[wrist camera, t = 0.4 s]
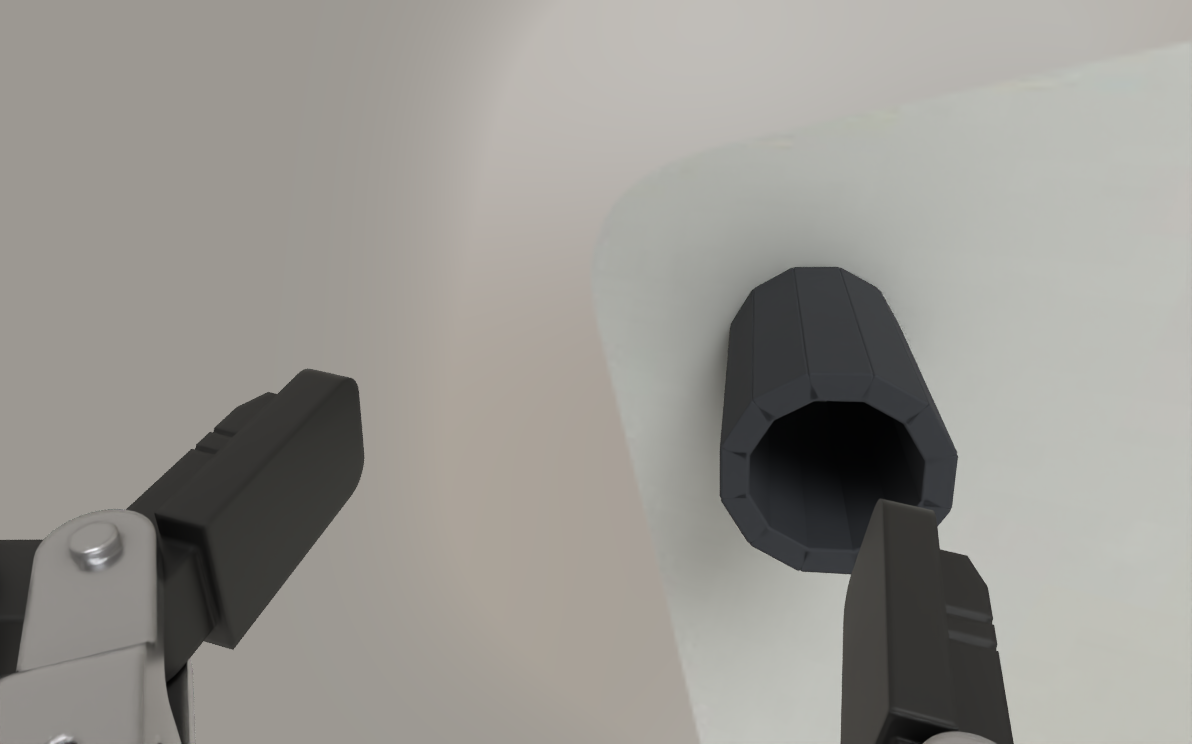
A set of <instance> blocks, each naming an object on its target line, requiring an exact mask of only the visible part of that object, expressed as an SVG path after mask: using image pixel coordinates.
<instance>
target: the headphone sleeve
mask: <svg viewBox="0 0 1192 744" xmlns="http://www.w3.org/2000/svg"><path fill="white" fill-rule="evenodd" d="M820 401H826V402H820ZM957 459H958V456H957V451H956V449H955V447H954V445H953V442H952V440H951V438H950V436H949V434H948V431H947V429H946V427H945V425H944V423H943V420H942V418H941V416H940V414H939V412H938V409H937V407H936V405H935V403H934V401H933V398H932V396H931V394H930V392H929V390H928V387H927V385H926V383H925V381H924V379H923V376H922V374H921V372H920V370H919V368H918V365H917V363H916V361H915V359H914V357H913V354H912V352H911V350H910V348H909V346H908V343H907V341H906V339H905V337H904V335H903V332H902V330H901V328H900V326H899V324H898V322H897V320H896V318H895V317H894V315H893V313H892V311H891V309H890V308H889V306H888V304H887V302H886V300H885V299H884V297H883V295H882V293H881V291H880V290H878V288H876V287H875V286H873V285H871V284H869V283H867V282H866V281H864V280H862V279H860V278H858V277H857V276H855V275H853V274H851V273H849V272H848V271H846V270H844V269H842V268H840V269H839V268H838V267H795V268H794V269H793V268H791V269H789V270H787V271H785V272H784V273H782V274H780V275H778V276H776V277H774V278H773V279H771V280H769V281H767V282H765V283H763V284H761V285H760V286H758V287H756V288H755V289H754V290H752V291H751V293H750V295H749V296H748V298H747V299H746V301H745V303H744V304H743V306H742V307H741V309H740V311H739V312H738V314H737V315H736V317H735V318H734V320H733V322H732V323H731V328H730V338H729V349H728V361H727V372H726V384H725V396H724V407H723V419H722V430H721V442H720V497H721V501H722V503H723V505H724V506H725V508H726V509H727V511H728V512H729V514H730V515H731V517H732V518H733V520H734V522H735V523H736V525H737V526H738V528H739V529H740V531H741V532H742V534H743V535H744V537H745V538H746V540H747V541H748V542H749V543H750V544H751V546H753V547H755V548H757V549H759V550H760V551H762V552H764V553H766V554H768V555H770V556H772V557H773V558H775V559H777V560H779V561H781V562H783V563H784V564H786V565H788V566H790V567H792V568H794V569H796V570H798V571H799V570H801V571H803V572H820V573H838V574H852V571H853V568H854V565H855V562H856V559H857V556H858V554H859V551H860V548H861V545H862V542H863V539H864V536H865V533H866V530H867V527H868V525H869V522H870V519H871V516H872V513H873V510H874V507H875V505H876V503H877V501H878V500H879V499H885V500H889V501H894V502H898V503H902V504H907V505H911V506H916V507H920V508H925V509H929V510H933V511H934V512H935V515H936V520H937V526H938V525H939V524H940V523H941V522H942V520H943V519H944V518H945V517H946V516H947V514H948V513H949V512H950V510H951V508H952V502H953V493H954V485H955V476H956V468H957Z"/></svg>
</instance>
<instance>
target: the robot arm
mask: <svg viewBox="0 0 1192 744" xmlns="http://www.w3.org/2000/svg"><path fill="white" fill-rule="evenodd" d="M363 465H364V447H363V435H362V424H361V413H360V401H359V391H358V386H357V383H356V381H355V380H354V379H352V378H349V377H344V376H340V375H335V374H331V373H326V372H322V371H317V370H313V369H305V370H303V371H301V372H300V373H299V374H297V375H296V376H295V377H294V378H293V379H292V380H291V381H290V382H289V383H288V384H287V385H286V386H285V387H284V388H283V389H282V390H281V391H280V392H279V393H278V394H274V393H270V392H267V393H265V394H263V395H261V396H259V397H257V398H255V399H253V400H251V401H249V402H247V403H245V404H242V405H240V406H238V407H237V408H235V409H234V410H233V411H232V412H231V413H230V414H229V415H228V416H227V417H226V418H225V419H223V420H222V421H221V422H220V423H219V424H218V425H217V426H216V427H215V428H214V432H213V433H212V432H209V433H208V434H207V435H206V436H205V437H204V438H203V439H202V440H201V441H200V442H199V443H198V444H196V448H195V450H194V449H191V450H190V451H189V452H188V453H187V454H186V455H184V456H183V458H181V459H180V460H179V461H178V462H177V463H176V464H175V465H174V466H173V467H172V468H171V469H169V470H168V471H167V472H166V473H165V474H164V475H163V476H162V477H161V478H160V479H159V480H158V481H156V482H155V483H154V484H153V485H152V486H151V487H150V488H149V489H148V490H147V491H146V492H144V494H142V496H140V497H139V498H138V499H137V500H136V501H135V502H134V503H133V504H131V505H130V506H129V507H128V508H127V509H126V510H122V509H108V510H101V511H96V512H92V513H88V514H85V515H82V516H79V517H77V518H74V519H72V520H70V521H68V522H66V523H64V524H62V525H61V526H59V527H58V528H56V529H55V530H54V531H52V532H51V533H50V534H49V535H48V536H47V537H46V538H45V539H44V540H0V744H196V743H195V716H194V715H195V714H194V688H193V668H192V663H191V660H190V657H191V656H192V655H193V653H194V652H195V651H196V650H197V649H198V647H199V646H200V645H201V644H202V642H203V641H205V642H209V643H212V644H215V645H219V646H222V647H226V648H229V649H234V648H235V647H236V645H237V644H238V643H239V641H240V640H241V639H242V637H243V636H244V635H245V634H246V632H247V631H248V629H249V628H250V627H251V625H252V624H253V623H254V622H255V621H256V619H257V618H258V616H259V615H260V614H261V613H262V611H263V610H264V609H265V607H266V606H267V605H268V604H269V602H270V601H271V600H272V598H273V597H274V596H275V594H276V593H277V592H278V591H279V589H280V588H281V586H282V585H283V584H284V583H285V581H286V580H287V579H288V577H289V576H290V575H291V573H292V572H293V571H294V570H295V568H296V567H297V565H298V564H299V563H300V562H301V561H302V559H303V558H304V557H305V555H306V554H307V553H308V551H309V550H310V549H311V547H312V546H313V545H314V544H315V542H316V541H317V539H318V538H319V537H320V536H321V534H322V533H323V532H324V530H325V529H326V528H327V527H328V525H329V524H330V523H331V521H332V520H333V519H334V517H335V516H336V515H337V514H338V512H339V511H340V510H341V508H342V507H343V506H344V504H345V503H346V502H347V501H348V499H349V498H350V497H351V495H352V494H353V492H354V491H355V489H356V487H357V485H358V483H359V480H360V477H361V474H362V470H363ZM992 620H993V616H992V610H991V604H990V598H989V592H988V587H987V585H986V584H985V582H984V581H983V579H982V578H981V576H980V575H979V573H978V572H977V570H976V568H975V567H974V565H973V564H972V562H971V561H970V559H969V558H968V556H966V555H961V554H957V553H953V552H948V551H944V550H940V548H939V538H938V529H937V520H936V515H935V512H934V511H933V510H929V509H925V508H920V507H916V506H911V505H907V504H902V503H898V502H894V501H889V500H885V499H879V500H878V501H877V503H876V505H875V507H874V510H873V513H872V516H871V519H870V522H869V525H868V527H867V530H866V533H865V536H864V539H863V542H862V545H861V548H860V551H859V554H858V556H857V559H856V562H855V565H854V568H853V571H852V574H851V577H850V581H849V585H848V590H847V595H846V601H845V608H844V623H843V666H842V709H841V744H1014V743H1013V737H1012V731H1011V725H1010V719H1009V713H1008V707H1007V701H1006V695H1005V689H1004V683H1003V677H1002V671H1001V665H1000V659H999V652H998V651H996V647H997V640H996V634H995V628H994V625H992Z"/></svg>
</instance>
